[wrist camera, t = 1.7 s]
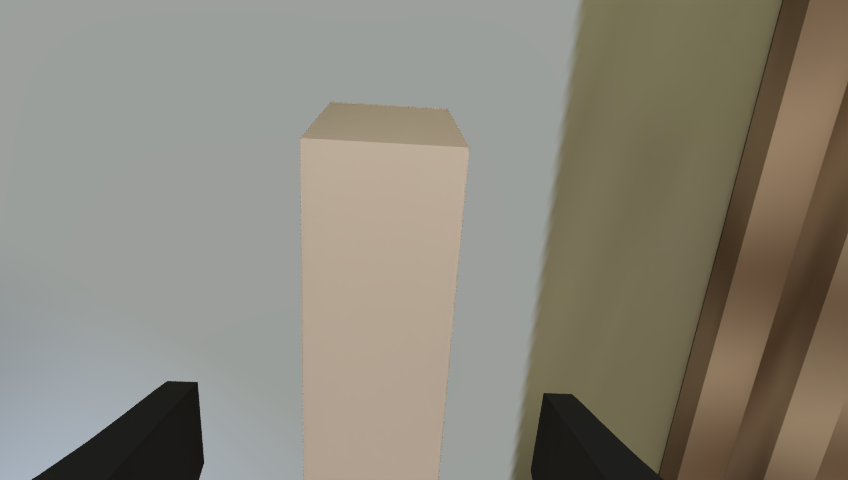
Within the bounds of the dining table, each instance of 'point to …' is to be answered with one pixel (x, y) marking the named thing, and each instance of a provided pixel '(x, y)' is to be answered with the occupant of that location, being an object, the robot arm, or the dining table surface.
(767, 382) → the rack
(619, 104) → the dining table surface
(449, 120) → the clay bar
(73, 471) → the robot arm
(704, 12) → the dining table surface
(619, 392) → the dining table surface
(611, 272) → the dining table surface
